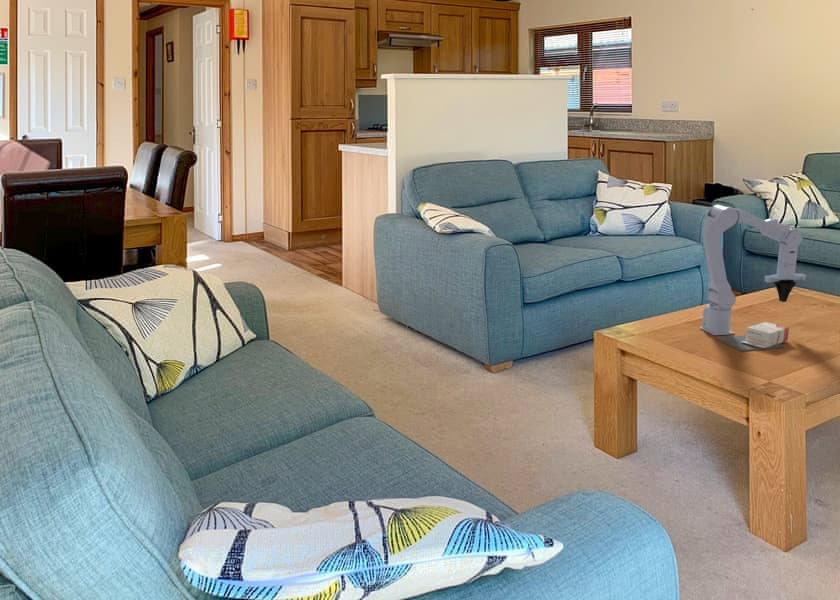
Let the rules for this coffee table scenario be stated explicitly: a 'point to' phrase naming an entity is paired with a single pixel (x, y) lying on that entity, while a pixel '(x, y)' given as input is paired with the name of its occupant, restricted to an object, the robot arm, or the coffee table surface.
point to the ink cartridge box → (766, 335)
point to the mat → (744, 344)
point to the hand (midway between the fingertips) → (782, 301)
